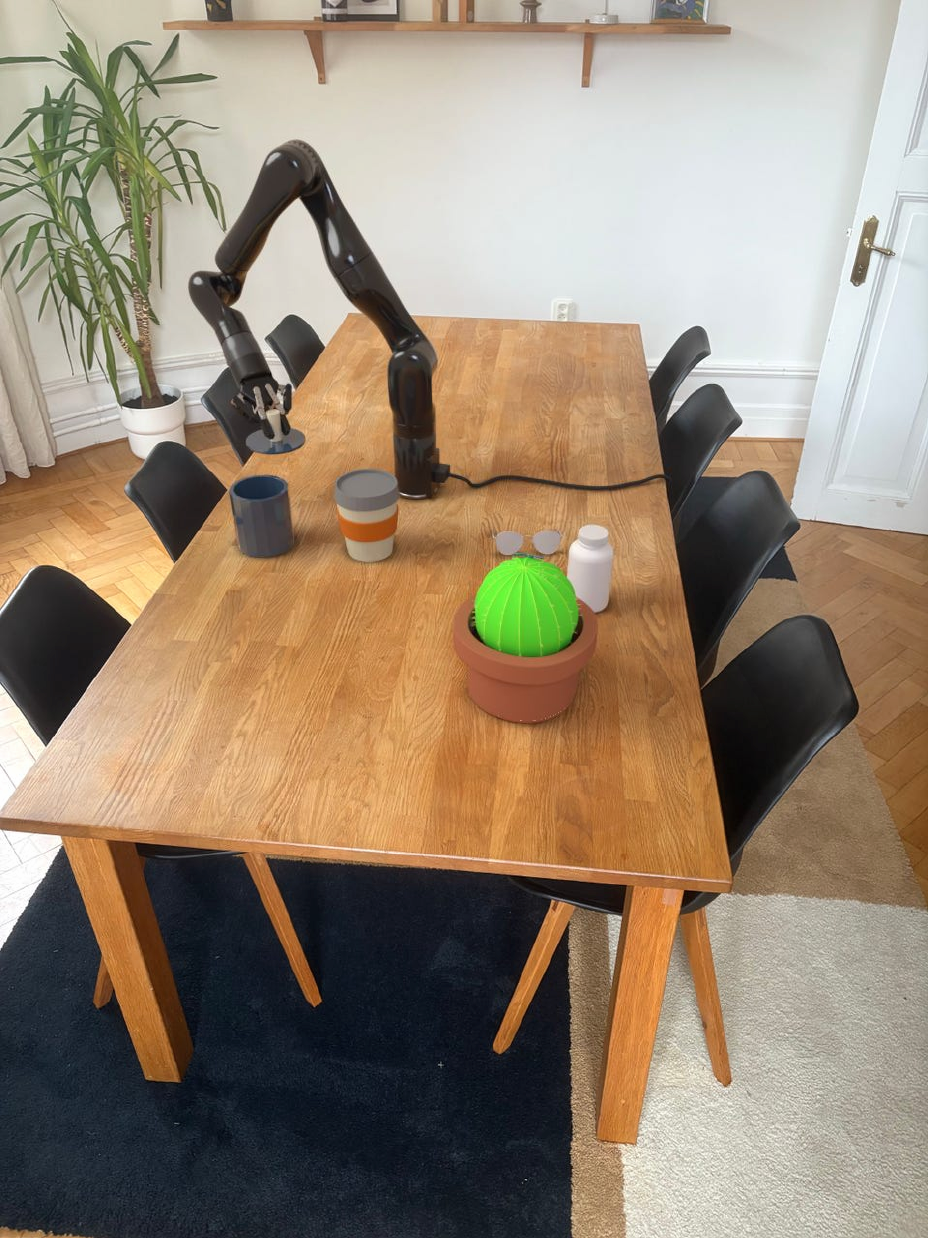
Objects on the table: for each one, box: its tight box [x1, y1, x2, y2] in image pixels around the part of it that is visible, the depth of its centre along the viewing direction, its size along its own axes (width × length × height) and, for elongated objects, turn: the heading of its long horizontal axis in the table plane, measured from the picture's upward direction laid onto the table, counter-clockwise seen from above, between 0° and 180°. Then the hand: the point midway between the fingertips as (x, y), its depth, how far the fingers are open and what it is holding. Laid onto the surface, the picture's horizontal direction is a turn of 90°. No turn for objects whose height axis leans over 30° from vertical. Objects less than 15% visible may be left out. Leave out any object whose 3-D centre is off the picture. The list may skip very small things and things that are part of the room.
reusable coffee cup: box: [333, 468, 400, 563], centre depth 185 cm, size 12×13×15 cm
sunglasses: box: [491, 527, 564, 556], centre depth 191 cm, size 14×8×5 cm, turn 92°
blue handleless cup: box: [228, 474, 295, 559], centre depth 188 cm, size 11×11×13 cm
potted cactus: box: [452, 552, 599, 724], centre depth 147 cm, size 22×22×25 cm
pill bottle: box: [566, 524, 615, 614], centre depth 170 cm, size 8×8×15 cm
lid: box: [245, 409, 307, 455], centre depth 195 cm, size 12×12×7 cm
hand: (279, 435), depth 194 cm, fingers closed on lid, 3 cm apart
